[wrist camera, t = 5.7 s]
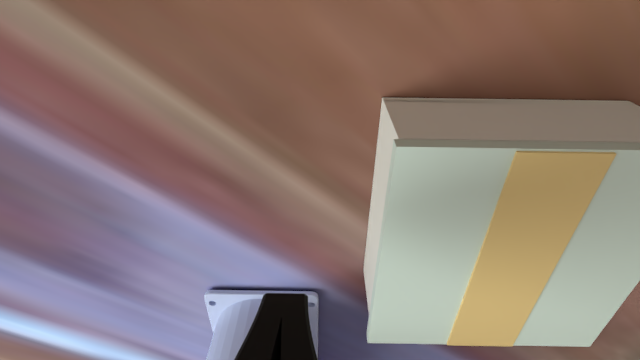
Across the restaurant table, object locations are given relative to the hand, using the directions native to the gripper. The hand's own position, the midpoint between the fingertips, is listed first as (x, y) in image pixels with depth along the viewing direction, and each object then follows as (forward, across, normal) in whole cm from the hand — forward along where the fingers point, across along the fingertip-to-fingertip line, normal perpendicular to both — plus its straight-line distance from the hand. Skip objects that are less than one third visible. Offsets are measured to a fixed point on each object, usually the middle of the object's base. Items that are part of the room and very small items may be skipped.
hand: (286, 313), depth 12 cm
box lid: (+5, -10, +2) cm, 11 cm away
